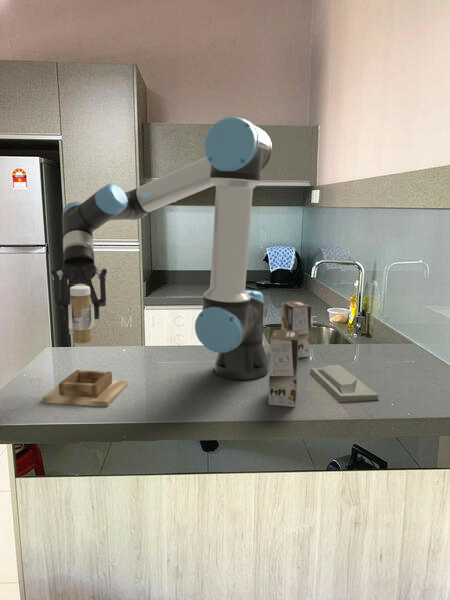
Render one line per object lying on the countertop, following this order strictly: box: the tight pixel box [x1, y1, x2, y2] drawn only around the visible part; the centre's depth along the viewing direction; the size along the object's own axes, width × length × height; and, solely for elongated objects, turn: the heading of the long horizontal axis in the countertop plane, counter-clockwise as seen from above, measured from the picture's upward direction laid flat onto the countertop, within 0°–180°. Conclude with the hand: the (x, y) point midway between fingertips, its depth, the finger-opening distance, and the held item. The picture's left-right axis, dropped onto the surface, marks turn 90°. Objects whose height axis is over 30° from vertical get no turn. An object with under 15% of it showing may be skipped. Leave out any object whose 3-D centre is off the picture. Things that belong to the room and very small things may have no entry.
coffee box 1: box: [280, 300, 312, 359], centre depth 144 cm, size 9×6×16 cm
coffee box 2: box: [268, 329, 299, 408], centre depth 109 cm, size 9×6×16 cm
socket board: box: [42, 369, 128, 407], centre depth 113 cm, size 16×13×4 cm
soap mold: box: [309, 364, 379, 403], centre depth 119 cm, size 10×20×4 cm, turn 10°
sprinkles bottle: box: [70, 285, 93, 345], centre depth 110 cm, size 5×5×14 cm
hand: (82, 330), depth 107 cm, fingers closed on sprinkles bottle, 4 cm apart
